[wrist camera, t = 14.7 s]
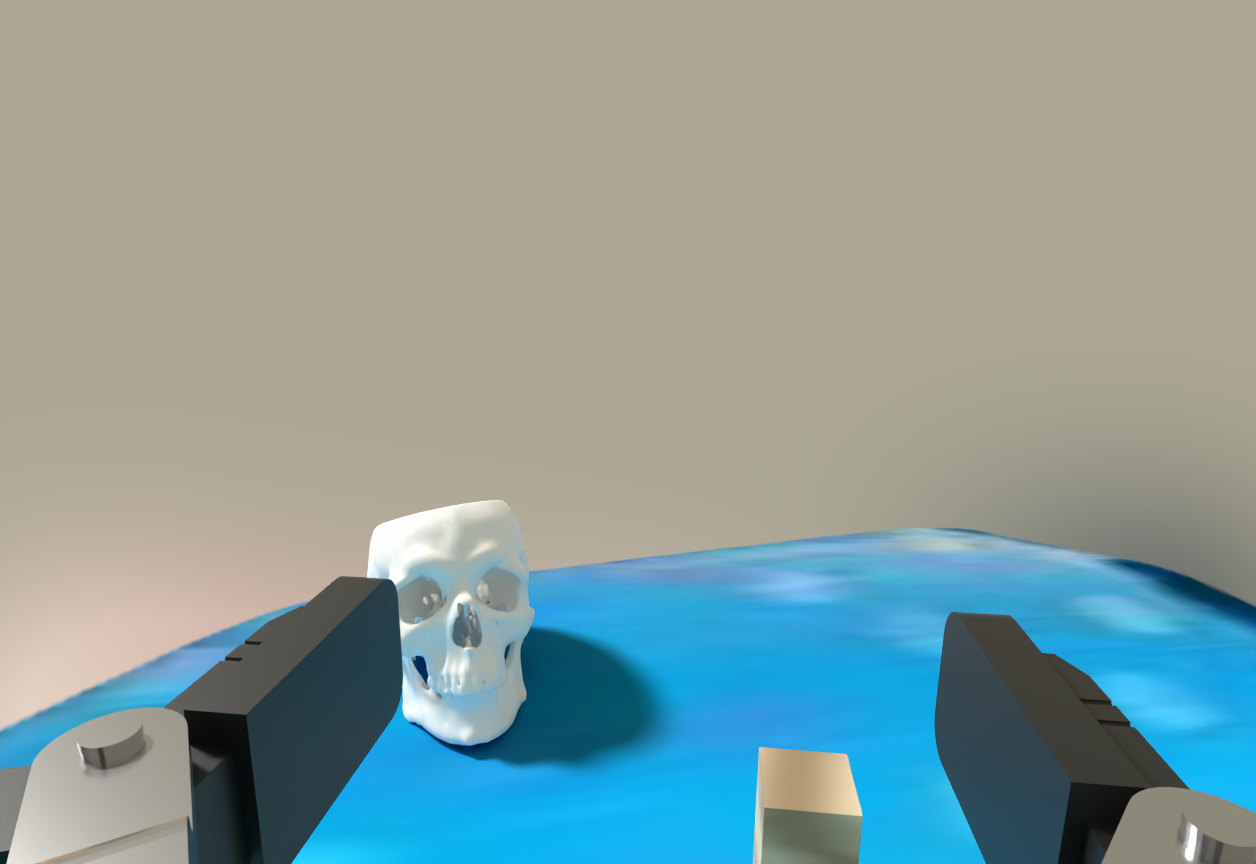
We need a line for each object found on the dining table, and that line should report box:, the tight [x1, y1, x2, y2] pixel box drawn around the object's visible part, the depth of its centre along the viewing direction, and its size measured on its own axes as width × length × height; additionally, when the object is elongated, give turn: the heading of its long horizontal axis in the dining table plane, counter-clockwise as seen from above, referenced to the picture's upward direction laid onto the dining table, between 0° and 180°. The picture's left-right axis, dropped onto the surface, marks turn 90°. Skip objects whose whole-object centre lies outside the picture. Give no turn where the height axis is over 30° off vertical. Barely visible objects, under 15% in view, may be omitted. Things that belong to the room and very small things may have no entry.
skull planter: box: [367, 500, 535, 746], centre depth 64 cm, size 14×20×19 cm
